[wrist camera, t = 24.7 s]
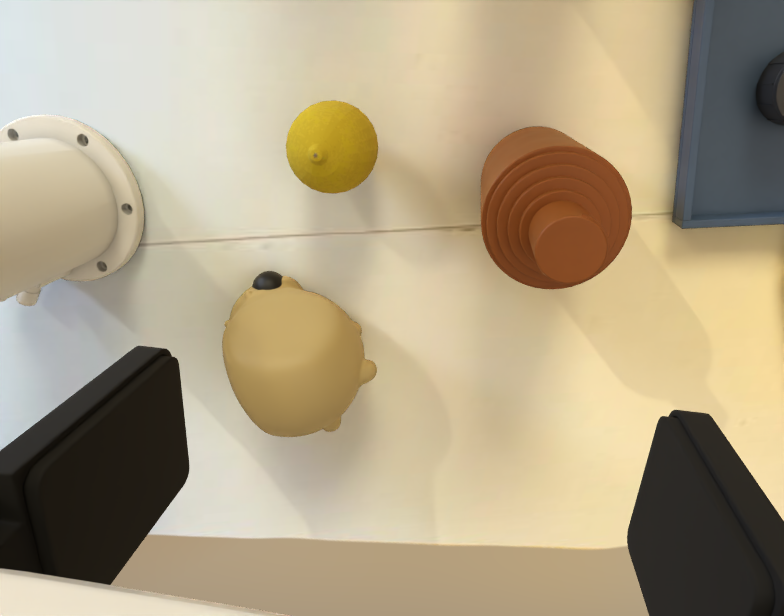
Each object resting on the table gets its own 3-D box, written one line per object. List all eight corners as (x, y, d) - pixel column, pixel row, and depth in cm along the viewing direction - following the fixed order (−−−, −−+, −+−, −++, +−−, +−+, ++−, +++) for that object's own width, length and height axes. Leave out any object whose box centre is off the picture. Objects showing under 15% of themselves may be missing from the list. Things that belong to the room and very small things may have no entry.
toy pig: (346, 268, 46) (230, 233, 39) (418, 369, 38) (290, 349, 31) (289, 355, 50) (172, 338, 42) (344, 464, 42) (213, 466, 35)
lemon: (325, 84, 38) (288, 85, 30) (399, 121, 38) (380, 131, 30) (296, 160, 40) (255, 178, 32) (366, 195, 40) (341, 221, 33)
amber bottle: (560, 245, 39) (613, 355, 23) (466, 211, 39) (456, 298, 24) (605, 147, 36) (701, 197, 21) (504, 111, 37) (523, 133, 21)
